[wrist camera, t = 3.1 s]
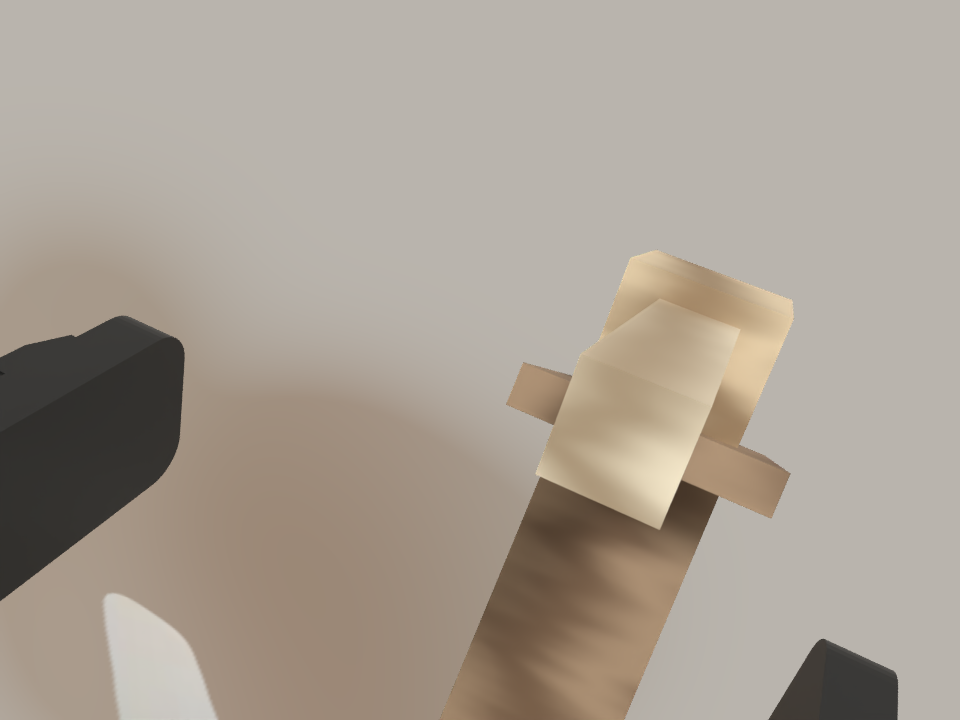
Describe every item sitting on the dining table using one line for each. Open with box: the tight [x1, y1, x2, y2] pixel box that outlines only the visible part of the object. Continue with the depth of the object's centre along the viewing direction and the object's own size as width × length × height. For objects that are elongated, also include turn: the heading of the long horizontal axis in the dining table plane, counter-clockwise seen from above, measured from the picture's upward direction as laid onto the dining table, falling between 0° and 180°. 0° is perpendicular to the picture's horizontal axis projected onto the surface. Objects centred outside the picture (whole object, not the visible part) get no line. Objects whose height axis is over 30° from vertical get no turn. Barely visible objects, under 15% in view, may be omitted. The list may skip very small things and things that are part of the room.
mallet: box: [536, 250, 794, 530], centre depth 30 cm, size 6×20×5 cm, turn 164°
